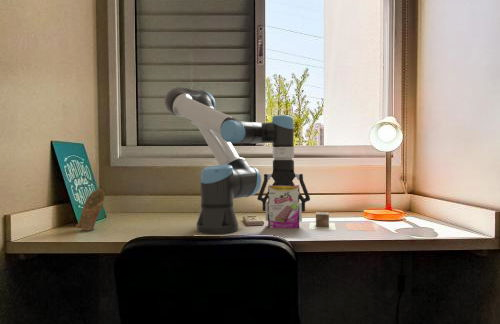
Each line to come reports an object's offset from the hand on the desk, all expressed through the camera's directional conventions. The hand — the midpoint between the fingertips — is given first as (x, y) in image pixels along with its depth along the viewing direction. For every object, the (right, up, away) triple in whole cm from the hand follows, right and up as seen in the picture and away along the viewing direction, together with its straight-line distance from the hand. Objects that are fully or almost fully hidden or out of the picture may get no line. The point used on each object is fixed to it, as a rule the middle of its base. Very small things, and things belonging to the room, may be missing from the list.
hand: (283, 220), depth 131 cm
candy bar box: (0, -4, 0) cm, 4 cm away
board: (+20, -4, -1) cm, 21 cm away
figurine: (-70, -5, +5) cm, 71 cm away
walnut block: (+14, -2, 0) cm, 14 cm away
